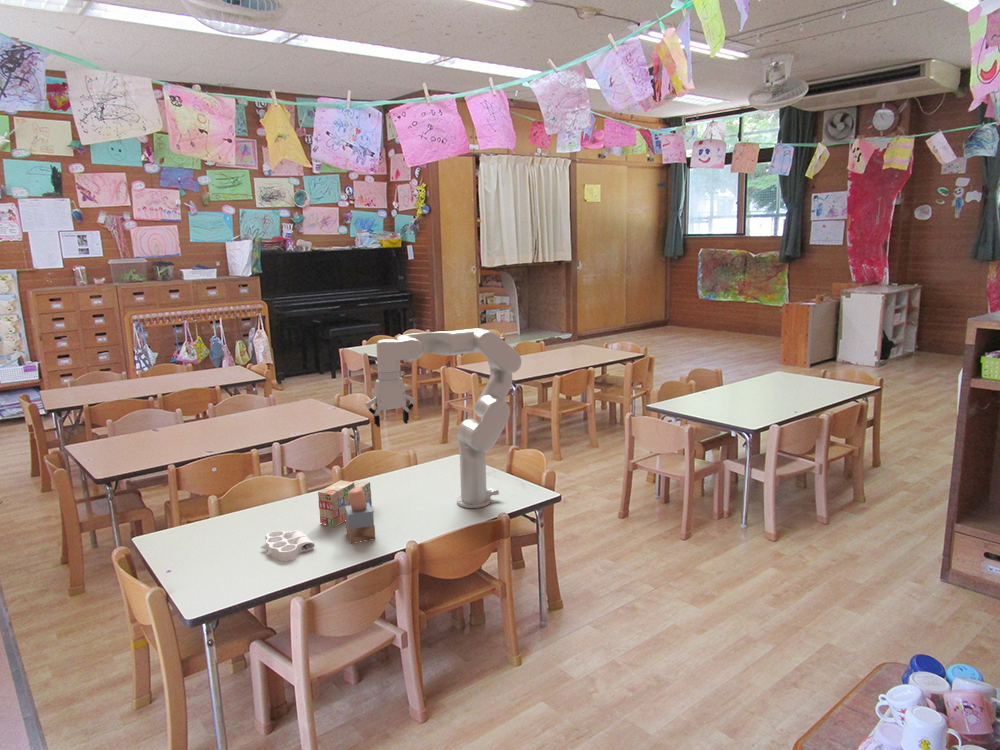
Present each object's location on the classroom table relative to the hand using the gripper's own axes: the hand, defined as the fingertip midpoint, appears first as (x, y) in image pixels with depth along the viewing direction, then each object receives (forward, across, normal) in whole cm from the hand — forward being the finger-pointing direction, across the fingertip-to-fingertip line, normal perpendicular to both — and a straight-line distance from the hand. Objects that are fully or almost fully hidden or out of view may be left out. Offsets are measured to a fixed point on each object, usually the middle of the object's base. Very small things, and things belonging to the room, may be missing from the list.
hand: (391, 424), depth 240 cm
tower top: (+30, +15, +10) cm, 34 cm away
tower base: (+34, +15, +10) cm, 39 cm away
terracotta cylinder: (+24, +15, +10) cm, 30 cm away
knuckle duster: (+35, +38, +9) cm, 53 cm away
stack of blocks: (+35, +16, -11) cm, 39 cm away
